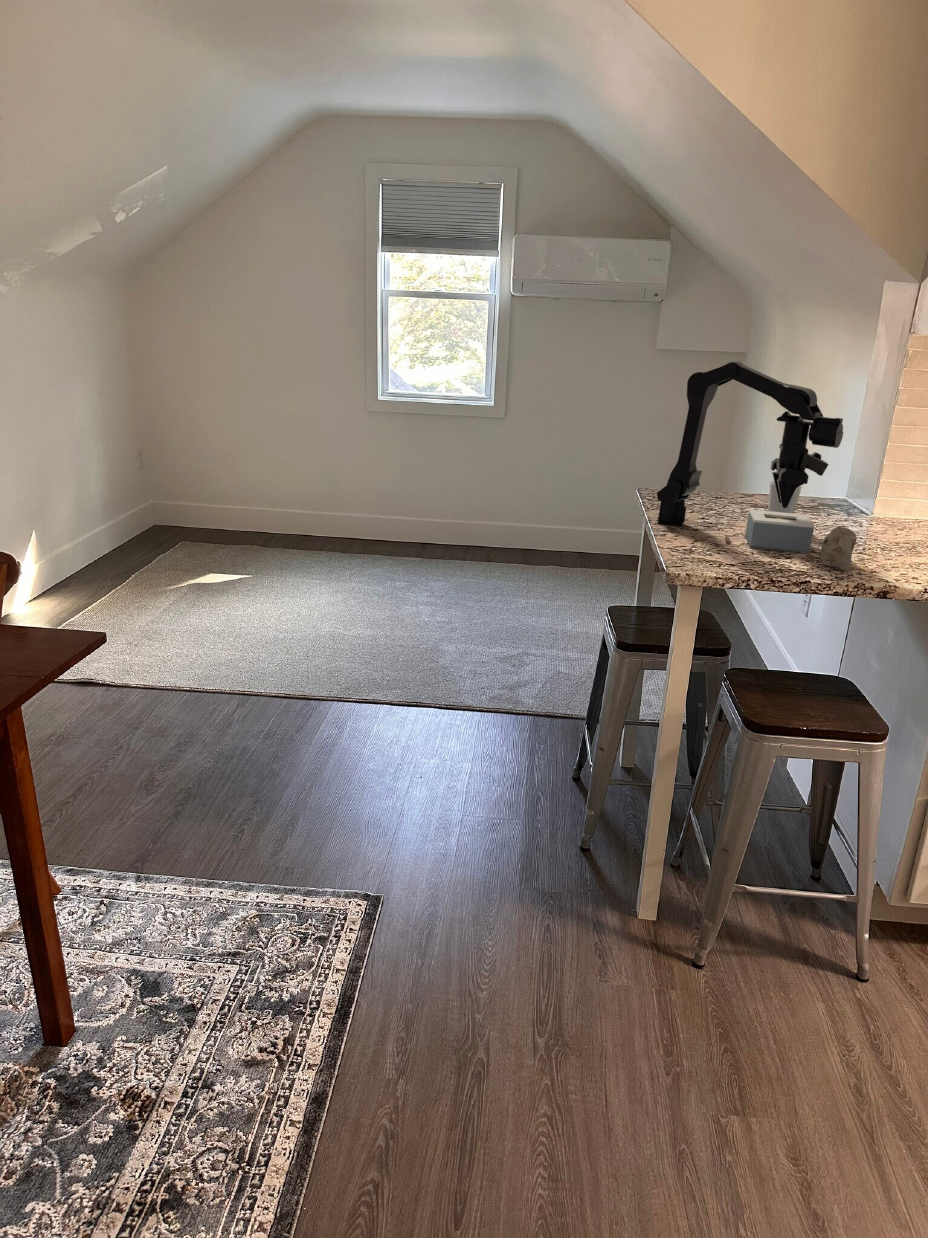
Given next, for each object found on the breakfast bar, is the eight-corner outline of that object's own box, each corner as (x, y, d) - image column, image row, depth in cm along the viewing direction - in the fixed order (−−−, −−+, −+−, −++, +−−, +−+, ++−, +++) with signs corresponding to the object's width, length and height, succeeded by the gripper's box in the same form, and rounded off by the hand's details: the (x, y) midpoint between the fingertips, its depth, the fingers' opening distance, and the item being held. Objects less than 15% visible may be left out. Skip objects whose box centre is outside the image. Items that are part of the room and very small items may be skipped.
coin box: (749, 547, 223) (754, 519, 221) (744, 535, 235) (749, 509, 232) (809, 553, 221) (814, 525, 219) (801, 541, 232) (806, 514, 230)
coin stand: (694, 540, 227) (695, 537, 227) (693, 535, 231) (694, 532, 231) (729, 544, 226) (730, 540, 225) (728, 539, 230) (728, 536, 230)
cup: (795, 533, 241) (803, 488, 237) (764, 530, 242) (772, 485, 238) (791, 526, 248) (799, 482, 244) (761, 523, 249) (768, 480, 245)
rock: (816, 550, 220) (831, 515, 213) (844, 557, 218) (859, 522, 212) (814, 577, 211) (828, 542, 204) (843, 585, 209) (858, 550, 203)
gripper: (836, 450, 209) (823, 516, 215) (822, 439, 227) (810, 500, 232) (786, 446, 211) (775, 512, 216) (775, 435, 228) (765, 496, 234)
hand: (782, 505), depth 224 cm, fingers open, 5 cm apart
